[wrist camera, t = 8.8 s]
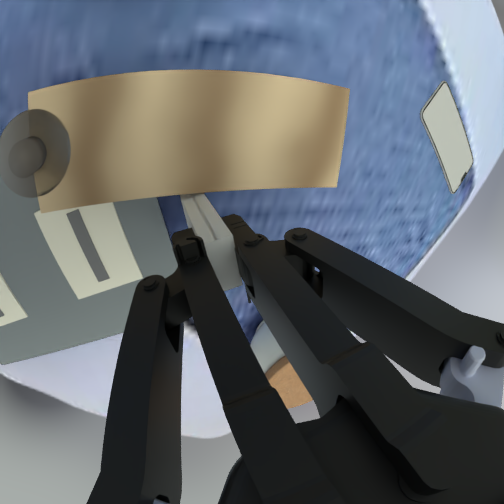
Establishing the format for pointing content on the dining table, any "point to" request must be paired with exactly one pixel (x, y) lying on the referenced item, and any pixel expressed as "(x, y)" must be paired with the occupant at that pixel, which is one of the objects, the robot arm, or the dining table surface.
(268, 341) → the lidded jar
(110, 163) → the swing arm
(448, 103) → the smartphone
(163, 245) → the label panel
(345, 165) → the dining table surface
